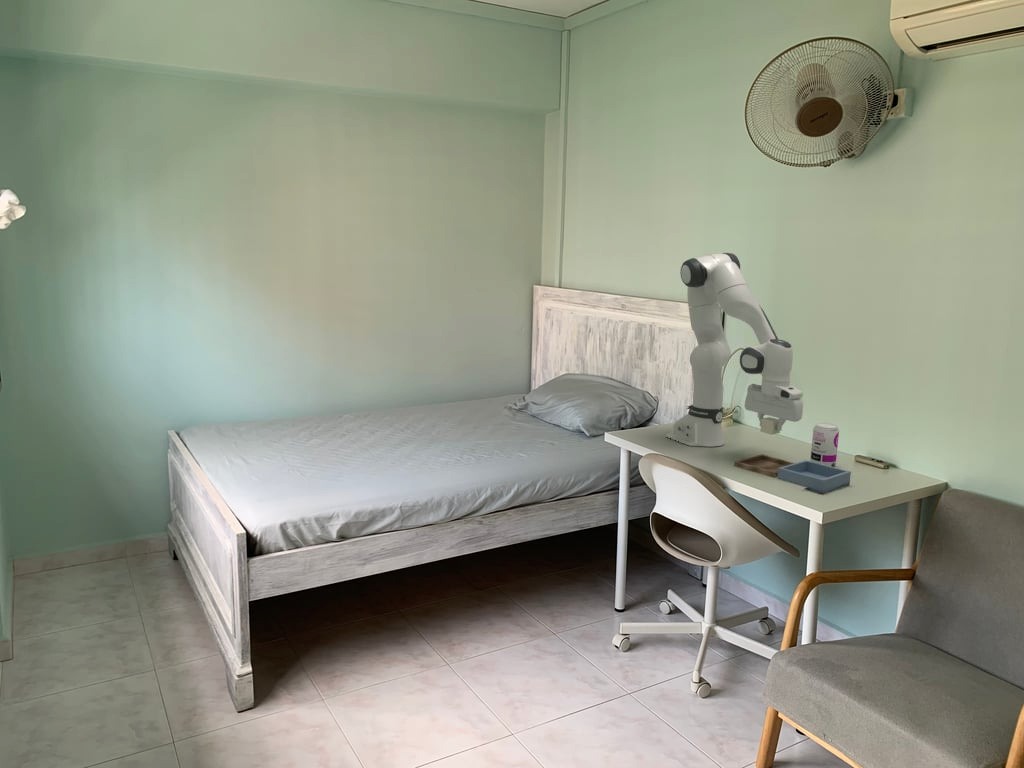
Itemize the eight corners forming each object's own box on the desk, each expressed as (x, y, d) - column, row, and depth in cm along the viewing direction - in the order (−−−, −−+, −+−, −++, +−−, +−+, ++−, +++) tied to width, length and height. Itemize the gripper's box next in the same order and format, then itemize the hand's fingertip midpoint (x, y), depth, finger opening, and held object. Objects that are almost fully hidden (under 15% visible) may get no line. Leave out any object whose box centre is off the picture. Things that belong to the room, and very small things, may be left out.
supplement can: (836, 466, 276) (841, 424, 274) (833, 472, 269) (837, 429, 267) (812, 462, 280) (816, 421, 278) (807, 468, 273) (811, 426, 271)
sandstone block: (760, 431, 269) (761, 418, 268) (768, 429, 271) (769, 417, 270) (771, 434, 265) (773, 421, 264) (779, 432, 268) (781, 419, 267)
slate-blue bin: (777, 481, 258) (778, 468, 258) (804, 472, 268) (805, 460, 267) (822, 494, 246) (823, 480, 245) (849, 485, 256) (850, 471, 255)
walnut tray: (733, 468, 271) (734, 461, 271) (761, 461, 281) (761, 454, 281) (774, 480, 259) (775, 473, 259) (802, 472, 269) (802, 465, 268)
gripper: (743, 383, 271) (738, 422, 274) (796, 395, 255) (791, 436, 258) (754, 381, 275) (749, 420, 278) (807, 393, 259) (802, 434, 262)
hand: (770, 428), depth 268 cm, fingers closed on sandstone block, 4 cm apart
